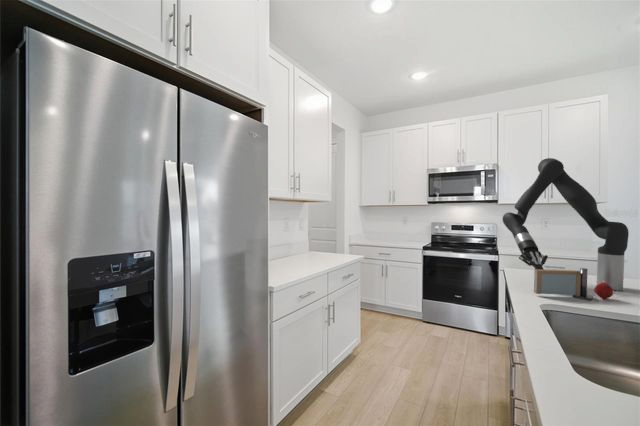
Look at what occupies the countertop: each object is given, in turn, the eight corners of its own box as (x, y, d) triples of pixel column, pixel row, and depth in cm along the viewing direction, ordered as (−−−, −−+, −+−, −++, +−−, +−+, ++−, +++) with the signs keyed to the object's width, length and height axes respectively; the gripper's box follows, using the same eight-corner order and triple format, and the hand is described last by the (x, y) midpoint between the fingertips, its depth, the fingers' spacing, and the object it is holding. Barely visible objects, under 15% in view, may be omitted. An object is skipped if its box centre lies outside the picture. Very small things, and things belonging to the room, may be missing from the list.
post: (575, 294, 129) (576, 266, 129) (593, 297, 125) (594, 268, 124) (572, 297, 125) (573, 268, 125) (591, 300, 121) (592, 270, 120)
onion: (616, 302, 119) (617, 283, 119) (600, 301, 121) (601, 282, 120) (605, 297, 125) (606, 279, 125) (590, 296, 126) (591, 279, 126)
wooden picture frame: (576, 293, 126) (577, 270, 126) (580, 295, 124) (581, 271, 124) (533, 292, 128) (534, 269, 127) (536, 293, 126) (537, 270, 126)
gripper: (515, 238, 143) (530, 267, 131) (543, 239, 141) (560, 268, 129) (509, 247, 148) (522, 276, 136) (535, 248, 147) (552, 277, 135)
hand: (541, 272), depth 133 cm, fingers closed
